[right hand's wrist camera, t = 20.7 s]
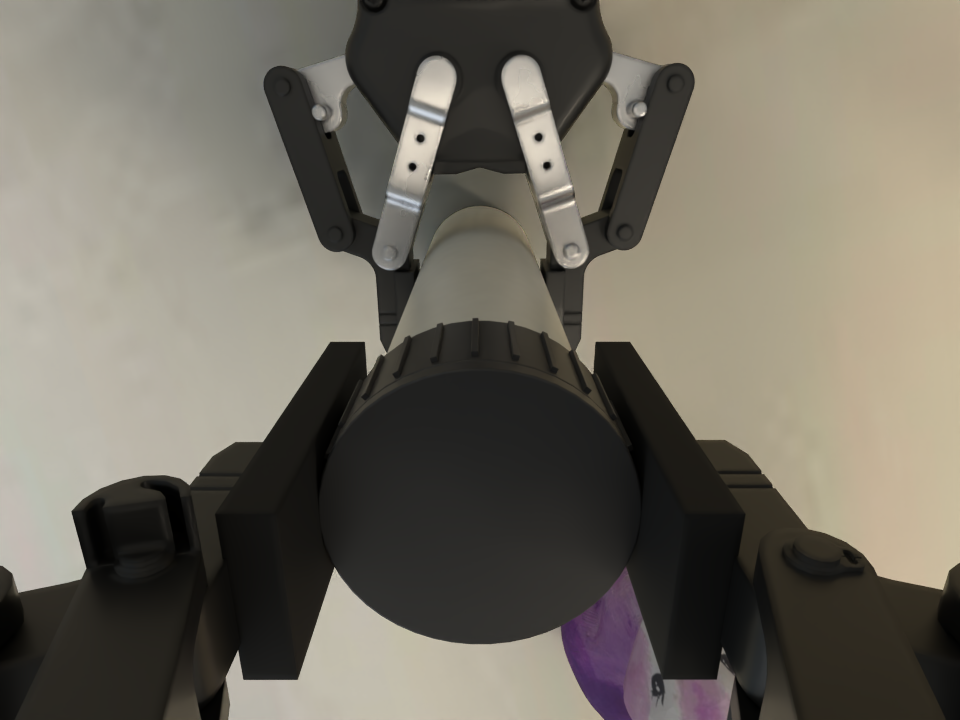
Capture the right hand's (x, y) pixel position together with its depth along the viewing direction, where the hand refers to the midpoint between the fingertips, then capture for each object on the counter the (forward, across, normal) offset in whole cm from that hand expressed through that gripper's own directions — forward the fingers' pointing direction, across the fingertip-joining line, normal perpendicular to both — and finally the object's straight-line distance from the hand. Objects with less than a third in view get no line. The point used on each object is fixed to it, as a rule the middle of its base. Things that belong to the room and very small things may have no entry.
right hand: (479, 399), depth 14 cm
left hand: (+10, 0, -3) cm, 10 cm away
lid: (-4, 0, 0) cm, 4 cm away
